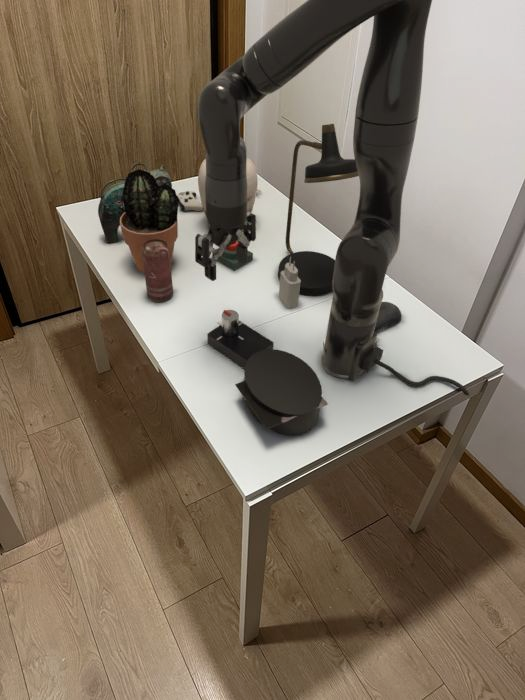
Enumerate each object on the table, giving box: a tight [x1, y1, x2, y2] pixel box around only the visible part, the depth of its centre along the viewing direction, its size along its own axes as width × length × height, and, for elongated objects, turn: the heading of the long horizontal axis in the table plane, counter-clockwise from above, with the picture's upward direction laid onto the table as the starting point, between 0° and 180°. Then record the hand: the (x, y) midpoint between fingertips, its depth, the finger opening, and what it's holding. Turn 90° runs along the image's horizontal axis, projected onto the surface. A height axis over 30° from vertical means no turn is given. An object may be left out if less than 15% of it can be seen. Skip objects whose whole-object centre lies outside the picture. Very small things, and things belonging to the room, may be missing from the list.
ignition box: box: [211, 248, 254, 272], centre depth 138 cm, size 8×7×4 cm
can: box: [142, 239, 174, 303], centre depth 123 cm, size 6×6×14 cm
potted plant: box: [119, 168, 179, 273], centre depth 128 cm, size 14×14×25 cm
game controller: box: [176, 190, 204, 212], centre depth 158 cm, size 10×5×6 cm
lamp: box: [277, 123, 359, 297], centre depth 123 cm, size 16×22×38 cm
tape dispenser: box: [234, 348, 329, 437], centre depth 103 cm, size 14×18×8 cm
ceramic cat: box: [97, 162, 173, 244], centre depth 139 cm, size 20×6×20 cm, turn 115°
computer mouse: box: [374, 301, 402, 345], centre depth 122 cm, size 10×15×4 cm
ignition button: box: [226, 241, 239, 251], centre depth 136 cm, size 4×4×2 cm
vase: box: [197, 157, 258, 231], centre depth 143 cm, size 16×16×23 cm
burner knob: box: [221, 309, 240, 337], centre depth 113 cm, size 4×4×5 cm
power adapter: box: [278, 257, 301, 309], centre depth 124 cm, size 3×5×12 cm, turn 24°
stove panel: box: [206, 320, 274, 370], centre depth 115 cm, size 13×8×3 cm, turn 48°
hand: (226, 269), depth 107 cm, fingers open, 8 cm apart
